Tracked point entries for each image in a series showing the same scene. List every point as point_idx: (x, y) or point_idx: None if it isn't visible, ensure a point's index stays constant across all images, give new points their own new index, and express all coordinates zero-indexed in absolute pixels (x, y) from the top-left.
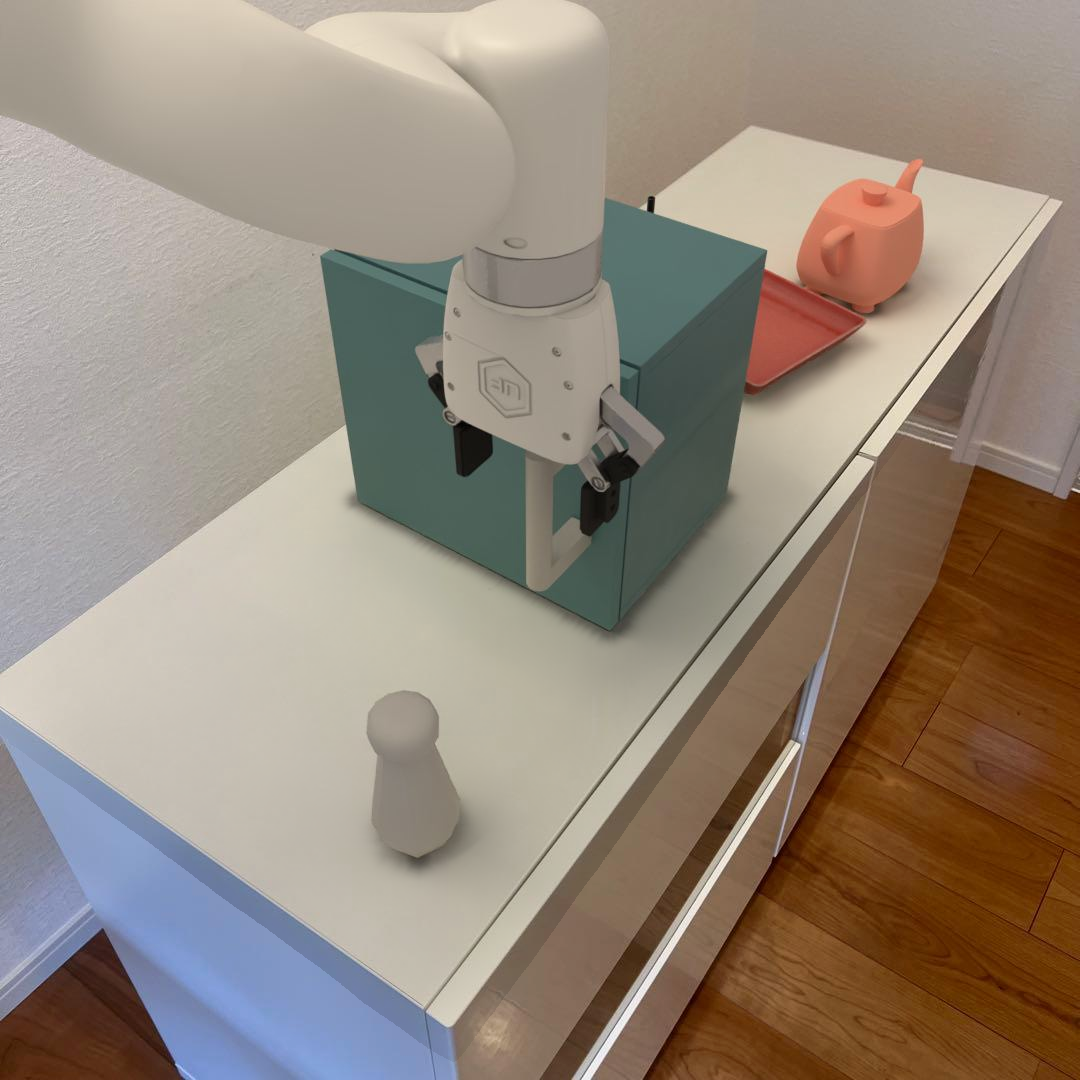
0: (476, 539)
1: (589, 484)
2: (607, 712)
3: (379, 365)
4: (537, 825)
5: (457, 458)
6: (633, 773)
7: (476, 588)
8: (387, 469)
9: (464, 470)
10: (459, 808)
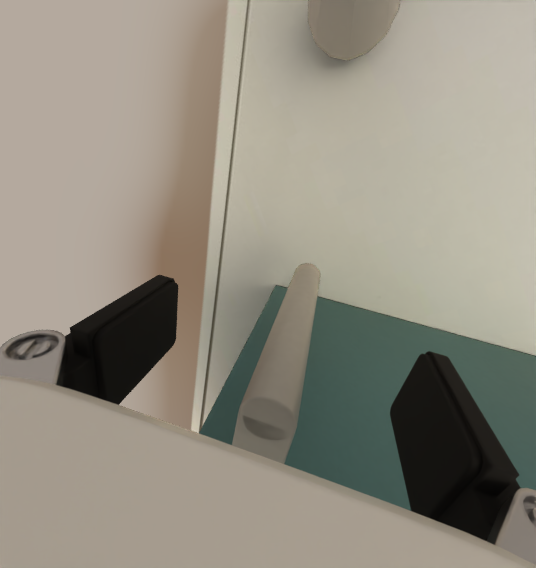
0: (404, 333)
1: (82, 346)
2: (251, 216)
3: None
4: (257, 87)
5: (459, 385)
6: (214, 171)
7: (390, 294)
8: (532, 388)
9: (431, 362)
10: (311, 30)
